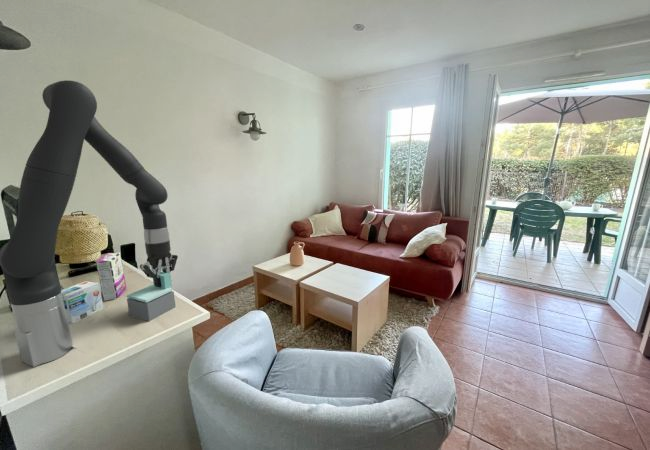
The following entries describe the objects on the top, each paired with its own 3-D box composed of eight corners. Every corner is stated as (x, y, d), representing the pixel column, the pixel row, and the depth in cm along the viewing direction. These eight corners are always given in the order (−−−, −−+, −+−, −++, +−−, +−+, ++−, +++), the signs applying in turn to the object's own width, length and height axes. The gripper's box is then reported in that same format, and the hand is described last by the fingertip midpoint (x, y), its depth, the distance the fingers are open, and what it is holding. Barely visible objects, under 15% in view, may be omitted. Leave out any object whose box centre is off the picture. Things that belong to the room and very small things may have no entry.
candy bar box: (112, 289, 113) (106, 253, 109) (126, 287, 115) (121, 252, 111) (102, 301, 103) (95, 261, 99) (117, 299, 104) (111, 260, 101)
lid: (146, 304, 87) (144, 286, 86) (127, 299, 90) (124, 281, 89) (175, 291, 97) (174, 274, 96) (157, 286, 101) (155, 270, 99)
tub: (149, 323, 88) (147, 304, 87) (129, 317, 92) (126, 298, 90) (175, 309, 97) (173, 291, 96) (156, 304, 101) (154, 287, 100)
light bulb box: (72, 325, 87) (66, 295, 84) (56, 323, 88) (50, 293, 86) (105, 309, 97) (100, 282, 95) (90, 307, 98) (85, 280, 96)
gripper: (145, 246, 86) (151, 294, 90) (181, 236, 99) (186, 279, 102) (130, 243, 89) (136, 291, 92) (167, 234, 101) (172, 276, 105)
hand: (162, 284), depth 97 cm, fingers closed on lid, 2 cm apart
